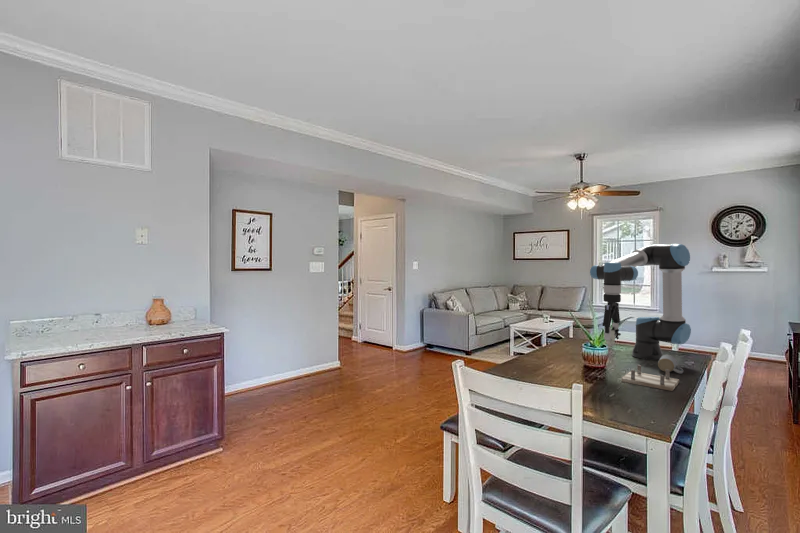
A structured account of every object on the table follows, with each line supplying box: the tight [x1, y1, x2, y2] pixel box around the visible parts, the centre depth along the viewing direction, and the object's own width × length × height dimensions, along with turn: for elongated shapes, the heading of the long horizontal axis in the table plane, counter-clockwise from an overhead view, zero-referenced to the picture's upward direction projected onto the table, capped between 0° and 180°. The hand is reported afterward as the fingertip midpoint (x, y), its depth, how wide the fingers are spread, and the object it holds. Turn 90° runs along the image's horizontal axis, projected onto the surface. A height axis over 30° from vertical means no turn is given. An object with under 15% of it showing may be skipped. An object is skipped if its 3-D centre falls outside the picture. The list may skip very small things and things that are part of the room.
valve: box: [606, 326, 622, 346], centre depth 201 cm, size 7×7×12 cm
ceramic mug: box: [657, 354, 684, 374], centre depth 207 cm, size 11×8×8 cm
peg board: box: [621, 364, 680, 392], centre depth 190 cm, size 16×20×6 cm
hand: (611, 338), depth 201 cm, fingers closed on valve, 12 cm apart
